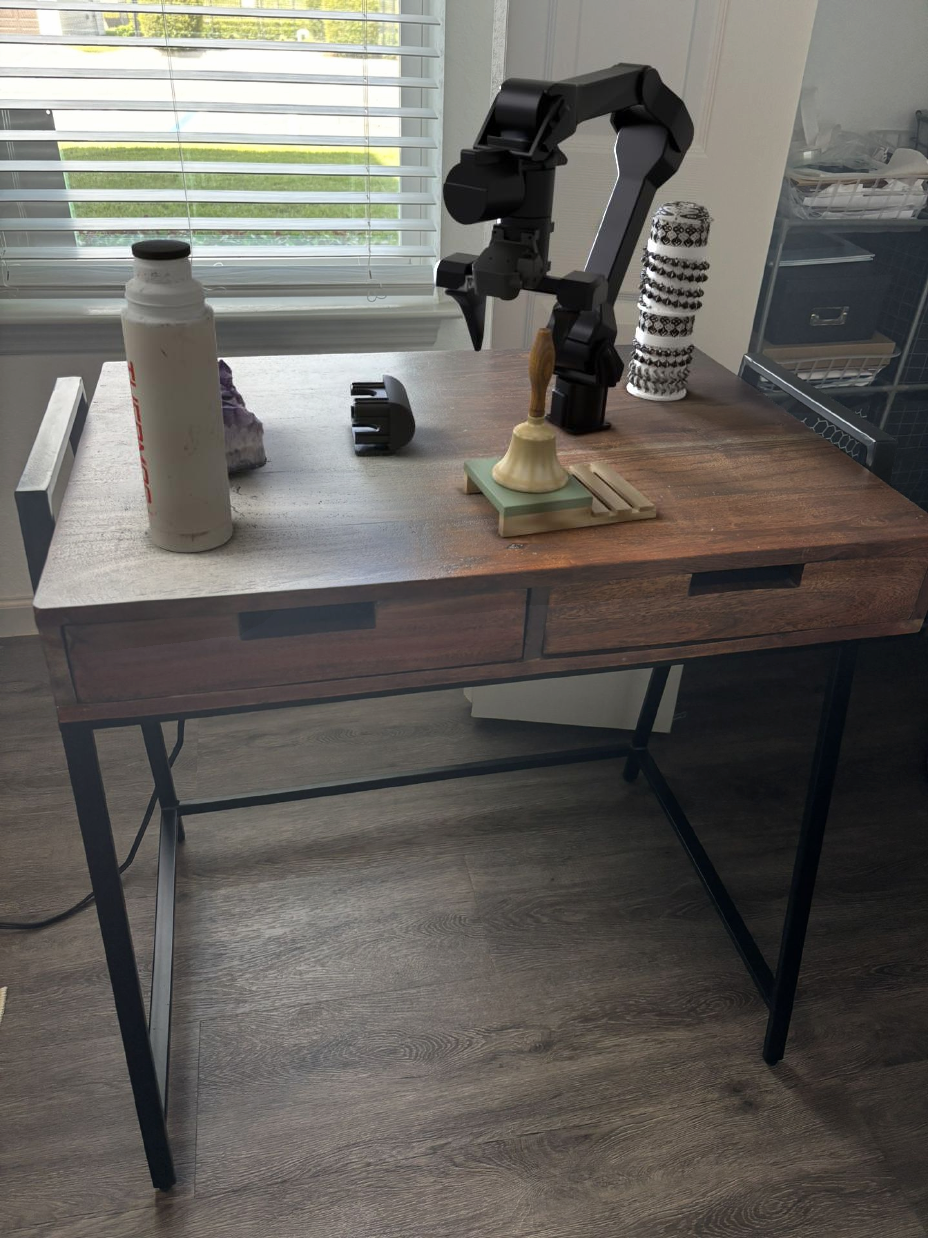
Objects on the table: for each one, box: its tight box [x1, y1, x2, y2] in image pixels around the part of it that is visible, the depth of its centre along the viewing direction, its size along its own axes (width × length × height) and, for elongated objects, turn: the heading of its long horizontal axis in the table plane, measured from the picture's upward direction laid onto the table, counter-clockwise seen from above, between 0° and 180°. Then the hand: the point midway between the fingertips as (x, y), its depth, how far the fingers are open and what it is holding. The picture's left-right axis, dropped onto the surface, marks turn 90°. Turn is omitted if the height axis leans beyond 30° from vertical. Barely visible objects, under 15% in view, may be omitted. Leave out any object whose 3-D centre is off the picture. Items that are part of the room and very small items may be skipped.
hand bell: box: [492, 327, 569, 493], centre depth 103 cm, size 8×8×16 cm
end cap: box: [349, 374, 417, 457], centre depth 121 cm, size 10×7×7 cm
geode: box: [218, 358, 268, 475], centre depth 115 cm, size 20×12×10 cm, turn 19°
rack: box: [462, 456, 658, 538], centre depth 109 cm, size 18×12×4 cm, turn 110°
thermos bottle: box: [120, 238, 234, 553], centre depth 93 cm, size 8×8×28 cm
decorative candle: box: [626, 201, 715, 402], centre depth 136 cm, size 9×9×25 cm
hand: (514, 357), depth 115 cm, fingers open, 9 cm apart
